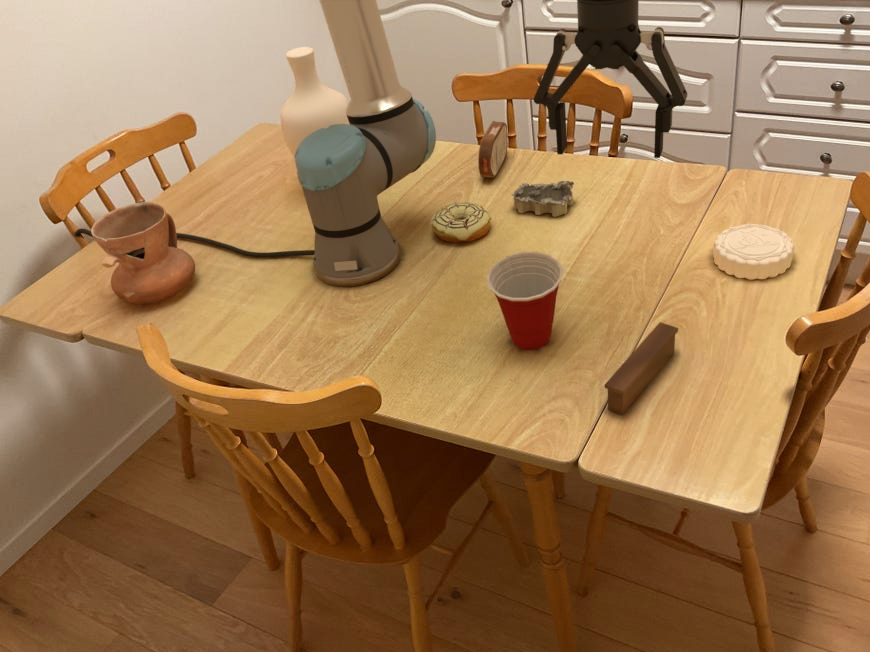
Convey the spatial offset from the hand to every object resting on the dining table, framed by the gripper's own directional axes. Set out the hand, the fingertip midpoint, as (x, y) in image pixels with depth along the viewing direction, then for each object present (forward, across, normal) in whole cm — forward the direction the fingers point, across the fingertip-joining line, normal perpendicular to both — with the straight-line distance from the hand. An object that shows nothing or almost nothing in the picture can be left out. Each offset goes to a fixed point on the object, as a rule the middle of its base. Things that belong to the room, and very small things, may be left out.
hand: (609, 152), depth 108 cm
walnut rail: (+23, +8, -21) cm, 32 cm away
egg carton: (+23, -18, +24) cm, 37 cm away
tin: (+23, -32, +38) cm, 55 cm away
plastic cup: (+23, -9, -15) cm, 29 cm away
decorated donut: (+23, -30, +13) cm, 40 cm away
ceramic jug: (+23, -79, -12) cm, 83 cm away
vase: (+23, -64, +27) cm, 73 cm away
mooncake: (+23, +21, +11) cm, 33 cm away
